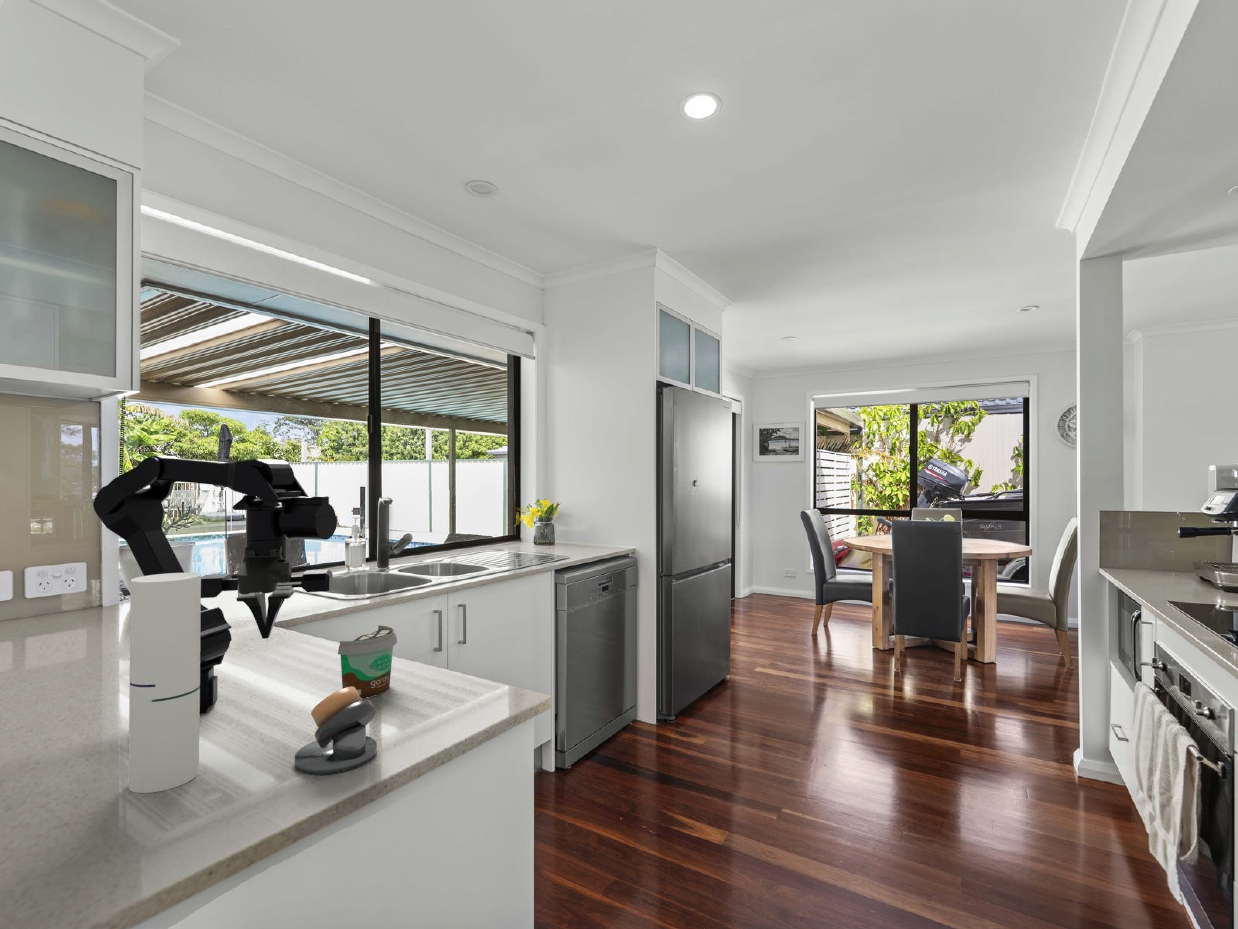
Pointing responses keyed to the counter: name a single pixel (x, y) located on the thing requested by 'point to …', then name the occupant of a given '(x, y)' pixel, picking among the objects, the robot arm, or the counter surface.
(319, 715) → the button cap
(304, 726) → the counter surface
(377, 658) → the food container
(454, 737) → the counter surface
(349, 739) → the button post
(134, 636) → the cylindrical container
